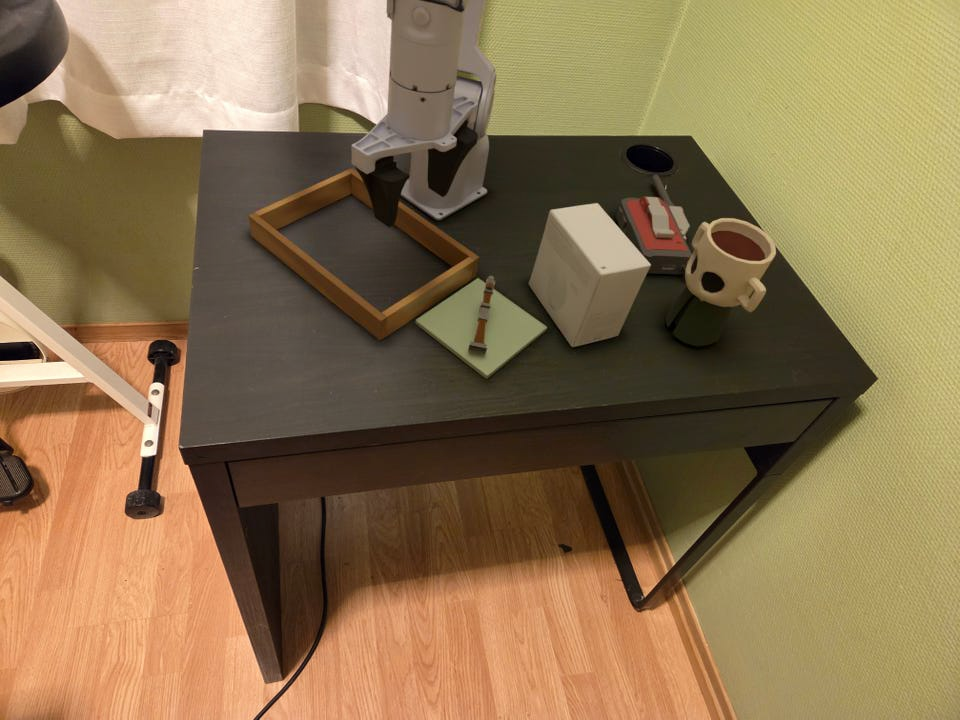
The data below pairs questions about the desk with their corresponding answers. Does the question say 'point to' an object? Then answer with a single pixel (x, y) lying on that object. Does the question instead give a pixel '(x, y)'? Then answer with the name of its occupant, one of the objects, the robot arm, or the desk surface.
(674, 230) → the walkie-talkie
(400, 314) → the wooden frame
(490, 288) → the wooden post with brackets
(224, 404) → the desk surface
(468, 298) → the mat
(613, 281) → the cosmetics box
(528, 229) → the desk surface
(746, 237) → the character mug
